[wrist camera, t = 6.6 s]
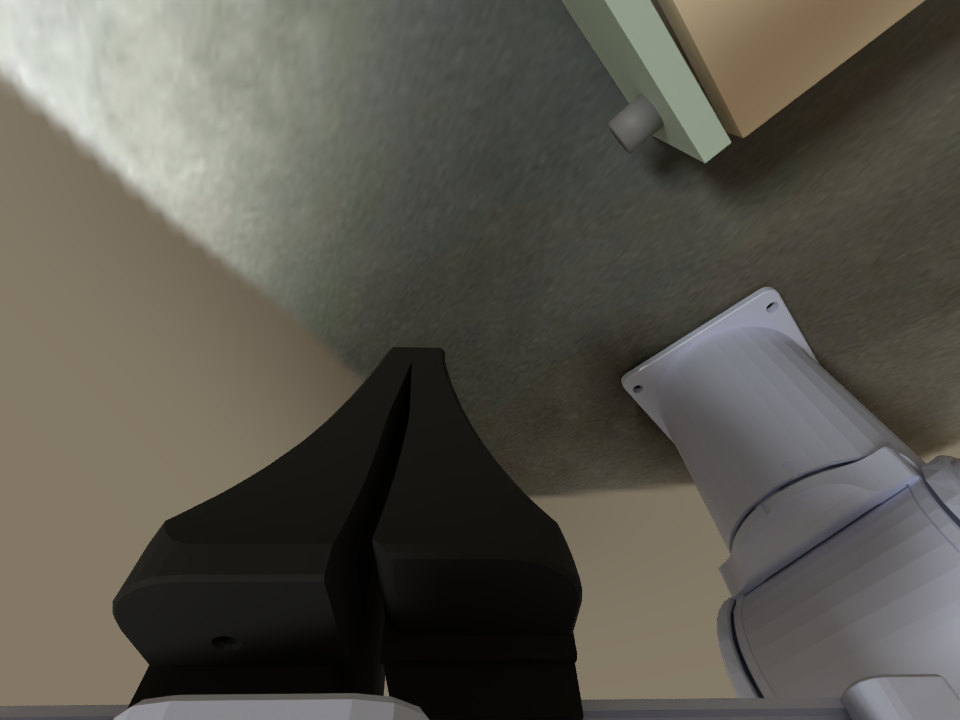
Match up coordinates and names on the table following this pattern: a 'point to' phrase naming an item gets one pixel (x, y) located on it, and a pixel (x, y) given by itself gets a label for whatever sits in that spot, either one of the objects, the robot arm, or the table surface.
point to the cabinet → (769, 48)
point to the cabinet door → (649, 78)
